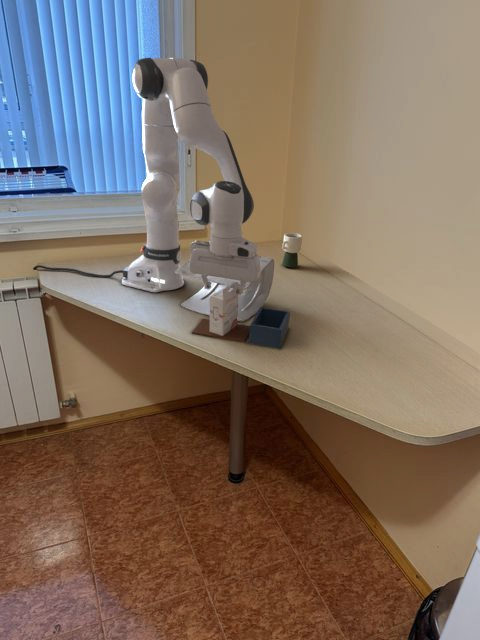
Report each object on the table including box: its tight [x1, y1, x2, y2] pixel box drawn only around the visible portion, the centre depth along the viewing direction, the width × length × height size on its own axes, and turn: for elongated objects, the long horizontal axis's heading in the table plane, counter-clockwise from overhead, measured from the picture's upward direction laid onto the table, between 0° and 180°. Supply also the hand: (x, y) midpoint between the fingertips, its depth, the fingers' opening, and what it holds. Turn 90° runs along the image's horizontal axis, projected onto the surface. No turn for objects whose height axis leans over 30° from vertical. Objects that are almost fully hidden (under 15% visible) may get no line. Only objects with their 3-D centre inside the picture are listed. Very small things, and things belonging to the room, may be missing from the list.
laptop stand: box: [175, 255, 275, 323], centre depth 160 cm, size 26×24×16 cm
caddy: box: [248, 306, 291, 350], centre depth 143 cm, size 9×13×6 cm
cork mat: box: [191, 317, 250, 343], centre depth 146 cm, size 16×10×1 cm, turn 74°
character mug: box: [281, 232, 303, 268], centre depth 195 cm, size 11×7×13 cm, turn 131°
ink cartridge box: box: [209, 281, 238, 336], centre depth 142 cm, size 9×5×15 cm, turn 148°
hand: (223, 291), depth 140 cm, fingers open, 8 cm apart
